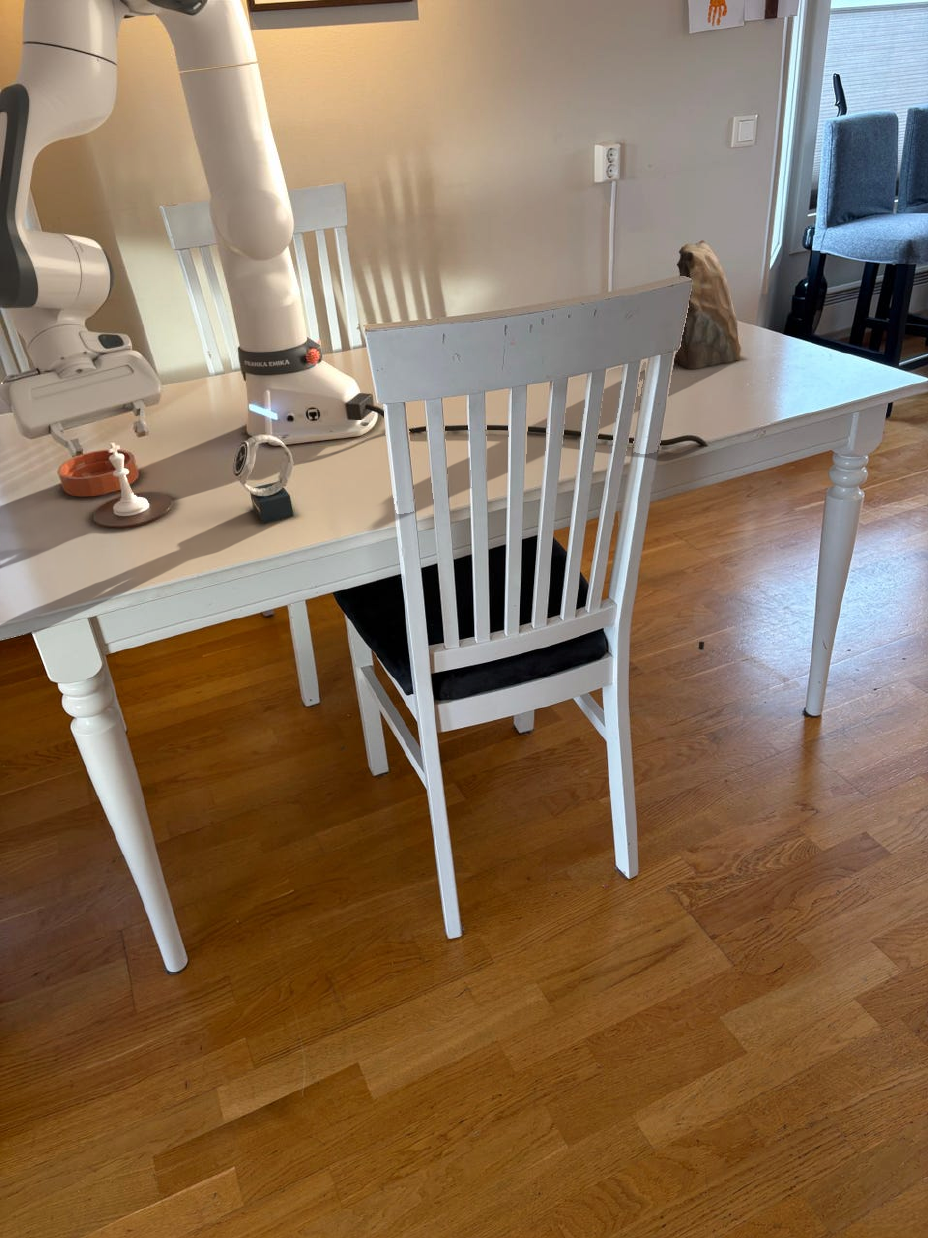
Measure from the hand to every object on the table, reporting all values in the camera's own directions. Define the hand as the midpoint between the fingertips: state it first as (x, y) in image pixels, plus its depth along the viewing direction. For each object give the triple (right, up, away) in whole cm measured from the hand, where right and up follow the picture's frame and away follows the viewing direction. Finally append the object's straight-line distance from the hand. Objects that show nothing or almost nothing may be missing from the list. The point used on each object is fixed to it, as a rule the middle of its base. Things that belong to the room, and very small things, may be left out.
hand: (111, 444), depth 126 cm
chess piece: (+2, -9, +3) cm, 10 cm away
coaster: (+2, -9, +4) cm, 10 cm away
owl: (+95, +25, +44) cm, 108 cm away
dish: (-7, -3, +13) cm, 15 cm away
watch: (+23, -10, 0) cm, 25 cm away
